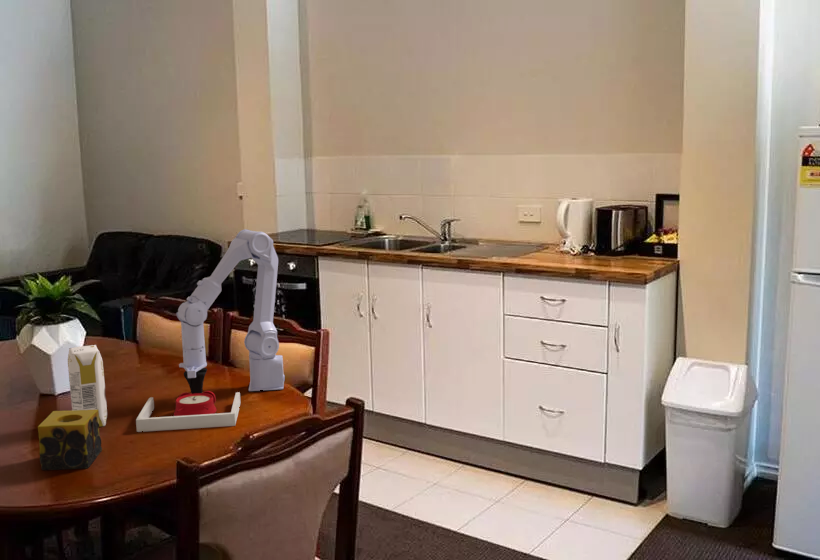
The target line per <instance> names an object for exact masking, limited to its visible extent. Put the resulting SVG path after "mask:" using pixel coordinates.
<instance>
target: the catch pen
mask: <svg viewBox="0 0 820 560" xmlns="http://www.w3.org/2000/svg"><path fill="white" fill-rule="evenodd" d="M233 398H234V399H233V402H232V406H231V411H230V412H220V413H215V414H202V415H185V416H174V415H173V416H172V415H171V416H159V417H158V416H157V417H156V416H154V417H153V416H152V417H151V415H152V413H153V412H154V410H155V401H154V397H152V396H151V397H149V398H148V399H147V401H146V403H145V404H144V406H143V407H142V409H141V411H140V412H139V414H138V416H137V417H136V419H135V425H136V427H135V428H136V432H138V433H142V431H143V433H145V432H156V431H157V432H159V431H173V430H188V429H189V430H190V429H201V428H202V429H203V428H204V429H205V428H219V427H234V426H235V427H236V424H237V420H238V416H239V411H240V408H239V407H240V406H241V393H240V391H239V392H238V391H237V392H236V391H235V395H234V397H233ZM152 411H153V412H152Z"/></svg>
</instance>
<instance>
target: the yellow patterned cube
mask: <svg viewBox="0 0 820 560" xmlns="http://www.w3.org/2000/svg"><path fill="white" fill-rule="evenodd" d="M37 431H38V432H37V433H38V440H39V441H38V444H39V463H40V465H41V467H40V469H41V471H61V470H65V471H66V470H77V469H89V467H91V466H92V464H93V463H94V462H95V460H96V459H97V458H98V456H99V455H100V453H102V451H103V448H102V438H101V435H100V428H99V423H98V410H72V409H71V410H53V411H51V413H50V414H49V415H47V417H46V418H45V419H44V420H43V421H42V422H41V423H40V424H38V426H37Z"/></svg>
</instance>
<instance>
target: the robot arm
mask: <svg viewBox="0 0 820 560" xmlns="http://www.w3.org/2000/svg"><path fill="white" fill-rule="evenodd" d="M249 259H252V261H254V262H255V263H256V264H257V274H256V286H255V296H254V297H255V298H254V309H253V320H252V321H251V323H250V324H249V326H248V330H247V333H246V335H245V338H244V341H243V342H244V346H245V349H246V350H248V358H249V359H248V361H249V377H250V382H249V386H248V392H261V391H260V390H263V391H276V390H277V391H279V390H280V391H281V390H284V387H285V386H284V385H285V381H286V380H285V377H286V376H285V373H284V359H283V357H284V356H283V355H281V354H277V353H278V351H279V349H280V343H279V342H280V341H279V338H278V330H277V328H276V326H275V324H274V315H275V314H274V313H275V303H276V292H277V282H278V281H277V279H278V272H279V271H278V268H279V267H278V266H279V256H278V254H277V252H276V249H275V246H274V240H273V238H272V237H270V236H269V235H268V234H267V233H266V232H264V231H255V230H250V229H247V228H246V229H242V230H240V231H239V232H238V233H237V234H236V236H235V238H232V240H231V241H230V245H229V246H228V249H227V251H225V253H224V255H223V256H222V258H221V259H220V261H219V262H218V264H217V266H216V267H215V269H214V270H213V272H212V273H211V275H210V276H207V277H204V278H202V279H201V280H198V281H197V282H196V285H197V287H196V288H195V289H194V290H193V292H192V293H191V295H190V296H188V297H187V298H186V301H184V302H182V303H181V304H180V305H179V307H178V309H177V312H176V313H175V314H176V317H177V319H178V320H179V322H180V326H181V331H180V332H181V344H182V357H183V358H182V359H183V362H180V363H179V364H178V367H179V368H182V369H184V370H185V371H184V372H183V376H184V377H183V378H185V380H186V381H187V384H188V385H189V390H190V393H191V394H194V393H203V388H204V380H205V376H206V373H207V371H208V368H207V365H208V361H207V357H206V356H207V355H206V343H205V340H206V339H205V326H204V322H205V321H206V320H207V318H208V310H209V309H210V307H211V306H212V305H213V303H214V302H215V300H216V299H217V298H218V296H219V295H220V294H221V292H222V283H223V282H225V280H226V279H227V277H228V276H229V275H230V273H231V272H232V271H233V270H234V268H236V266H237V265H238V264H239V263H240V262H241V261H245V260H249Z"/></svg>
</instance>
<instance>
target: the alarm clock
mask: <svg viewBox="0 0 820 560" xmlns="http://www.w3.org/2000/svg"><path fill="white" fill-rule="evenodd" d="M216 400H217V398H216V394H215V393H214V392H213V391H210V390H204V391H202V393H194V394H192V393H191V392H186V391H185V392H182V393H181V394H179V395H178V397H177V398H176V399H175V409H174V412H173V416H185V415H202V414H217V413H216V412H217V411H218V410H217V407H216V406H215V404H216Z"/></svg>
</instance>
